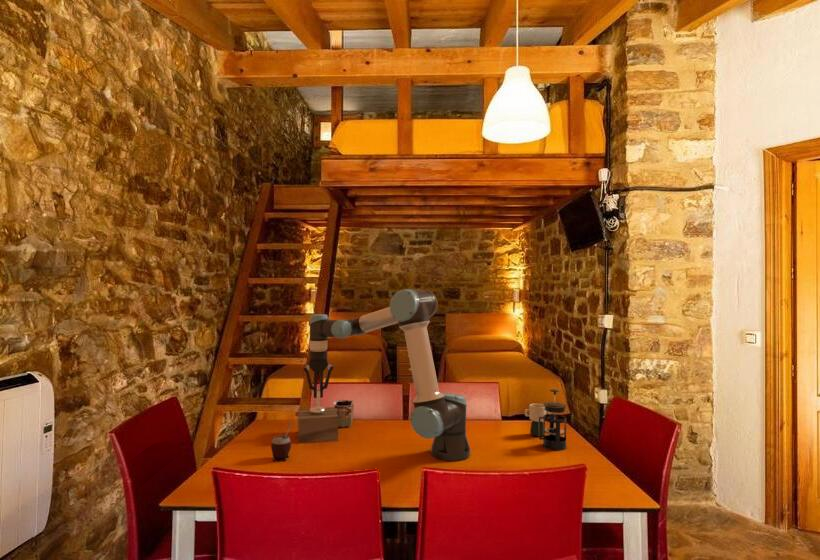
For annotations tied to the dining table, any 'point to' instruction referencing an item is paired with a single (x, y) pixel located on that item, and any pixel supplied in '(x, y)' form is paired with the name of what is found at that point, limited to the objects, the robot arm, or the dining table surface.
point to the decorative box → (344, 412)
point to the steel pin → (317, 410)
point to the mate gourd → (281, 446)
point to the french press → (554, 438)
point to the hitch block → (317, 426)
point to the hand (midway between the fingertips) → (318, 405)
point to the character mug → (536, 417)
